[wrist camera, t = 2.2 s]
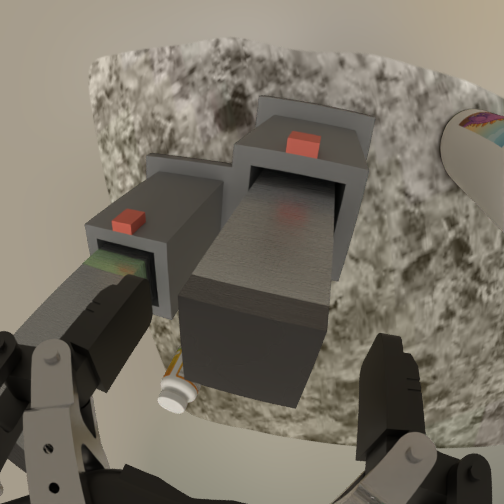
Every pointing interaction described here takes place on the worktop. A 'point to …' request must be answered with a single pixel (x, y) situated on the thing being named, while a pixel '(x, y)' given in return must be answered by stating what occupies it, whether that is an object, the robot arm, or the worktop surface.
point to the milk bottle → (477, 159)
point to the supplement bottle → (177, 387)
